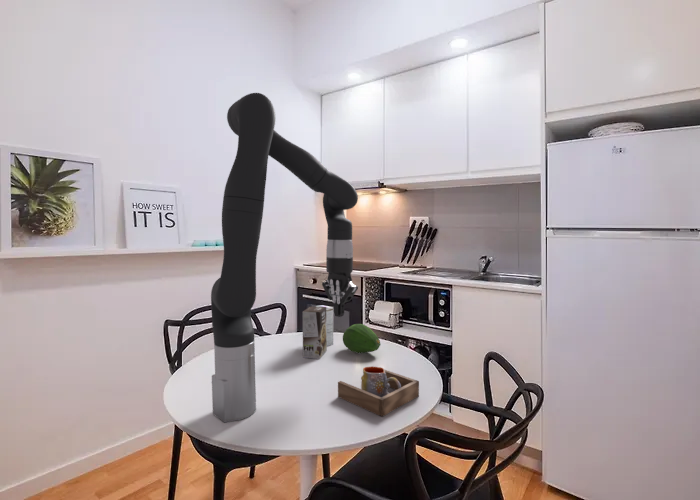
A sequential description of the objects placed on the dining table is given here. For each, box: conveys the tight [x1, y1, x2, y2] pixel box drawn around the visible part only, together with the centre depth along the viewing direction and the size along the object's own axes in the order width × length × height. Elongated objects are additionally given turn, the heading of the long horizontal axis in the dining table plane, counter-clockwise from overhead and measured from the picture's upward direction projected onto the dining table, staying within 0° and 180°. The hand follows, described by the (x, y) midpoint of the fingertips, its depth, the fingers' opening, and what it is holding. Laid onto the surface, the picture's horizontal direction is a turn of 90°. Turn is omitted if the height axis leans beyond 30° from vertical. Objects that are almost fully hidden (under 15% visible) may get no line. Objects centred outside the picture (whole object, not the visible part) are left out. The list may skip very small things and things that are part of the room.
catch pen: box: [337, 369, 420, 417], centre depth 99 cm, size 15×15×4 cm
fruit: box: [342, 323, 381, 354], centre depth 133 cm, size 15×10×10 cm, turn 41°
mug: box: [360, 365, 401, 397], centre depth 99 cm, size 12×7×7 cm, turn 47°
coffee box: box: [302, 306, 328, 360], centre depth 132 cm, size 9×6×16 cm
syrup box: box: [315, 304, 334, 347], centre depth 143 cm, size 6×6×14 cm
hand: (339, 316), depth 108 cm, fingers closed
